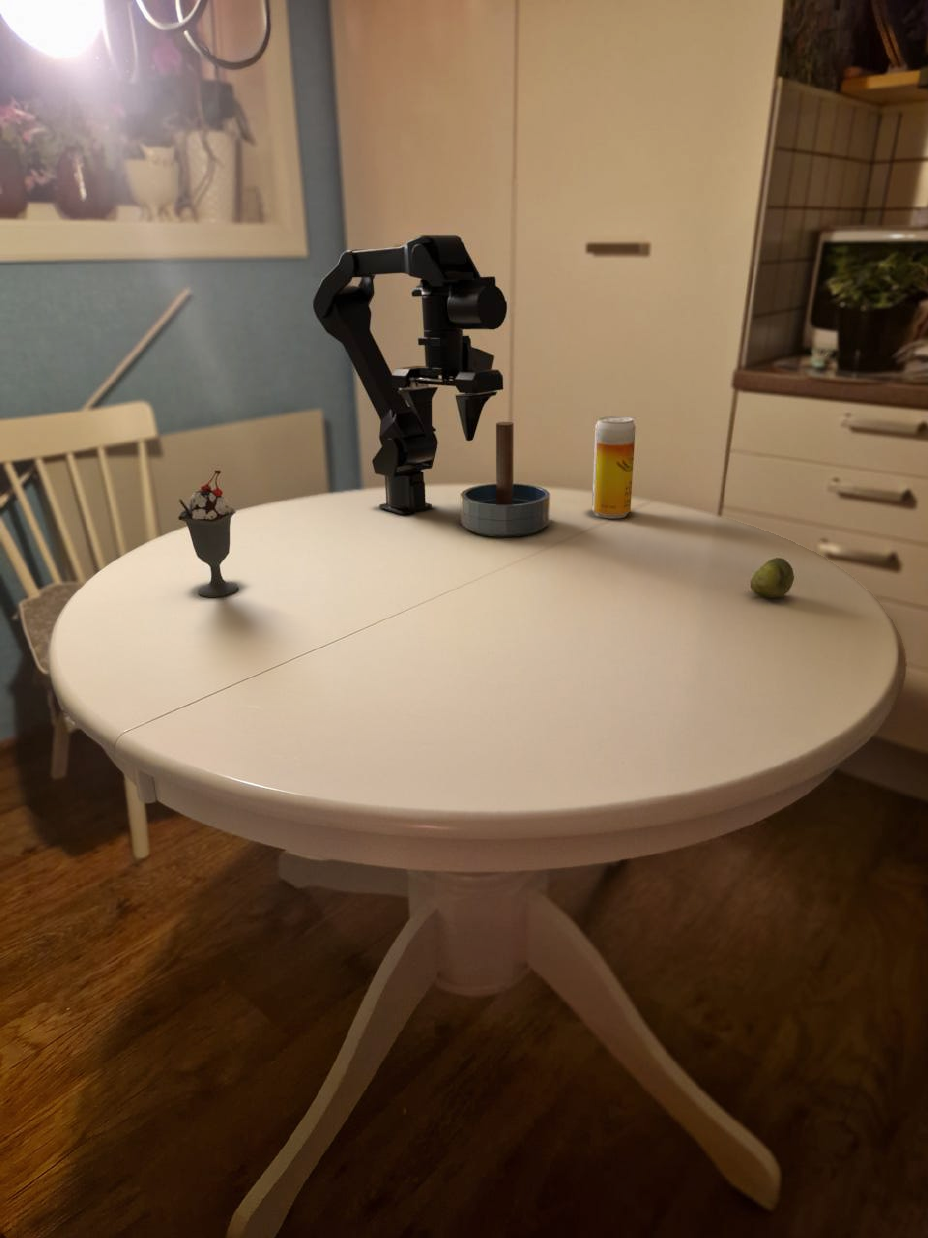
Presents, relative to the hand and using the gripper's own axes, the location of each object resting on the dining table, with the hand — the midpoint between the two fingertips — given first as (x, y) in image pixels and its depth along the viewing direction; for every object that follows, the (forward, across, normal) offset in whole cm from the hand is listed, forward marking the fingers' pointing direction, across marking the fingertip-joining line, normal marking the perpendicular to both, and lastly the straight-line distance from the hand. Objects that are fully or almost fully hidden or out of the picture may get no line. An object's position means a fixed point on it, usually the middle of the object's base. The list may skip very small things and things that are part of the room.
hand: (448, 437), depth 131 cm
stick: (+13, -8, -4) cm, 15 cm away
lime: (+15, -52, -4) cm, 54 cm away
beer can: (+14, -16, -20) cm, 29 cm away
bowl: (+13, -8, -4) cm, 16 cm away
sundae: (+13, 0, +41) cm, 43 cm away
